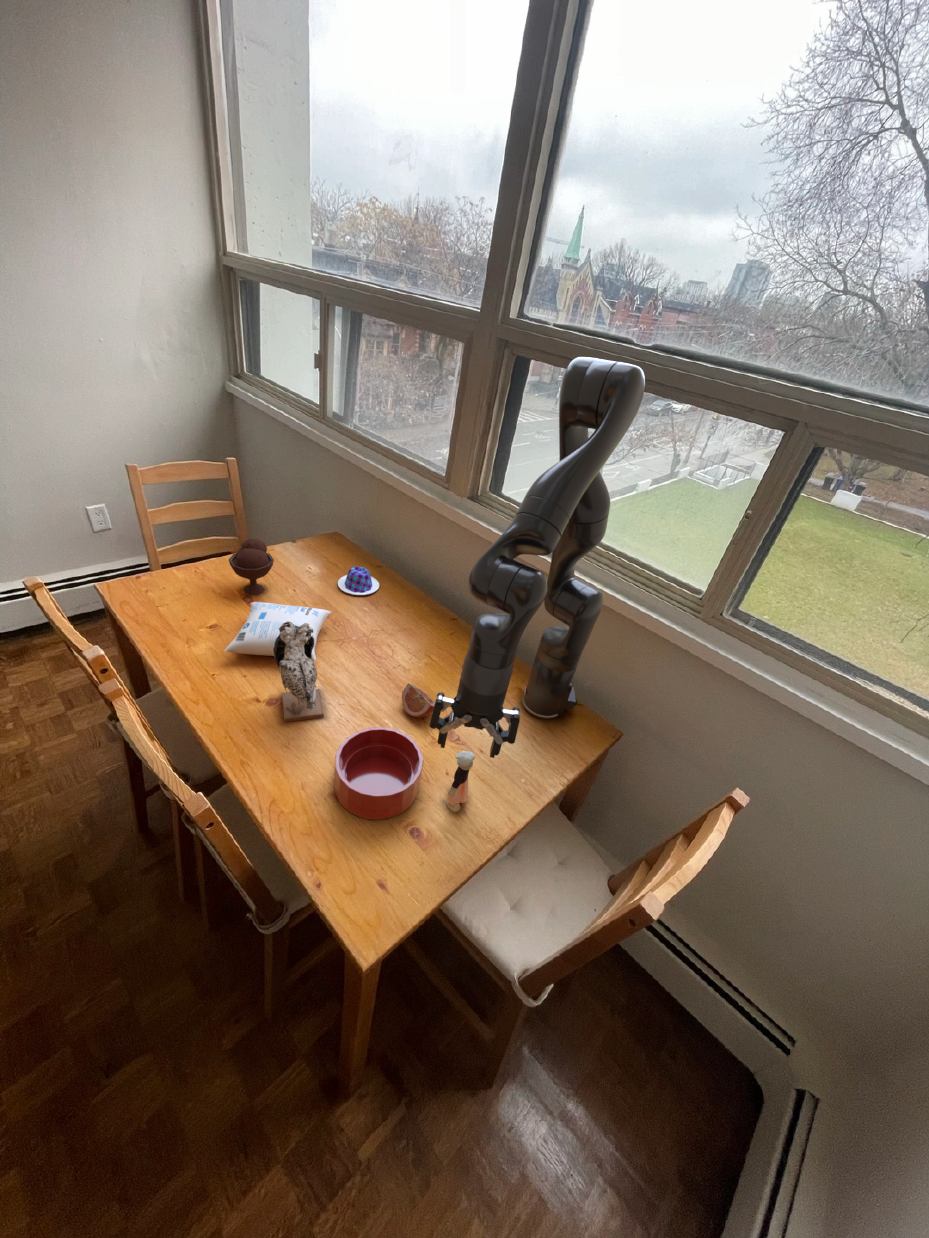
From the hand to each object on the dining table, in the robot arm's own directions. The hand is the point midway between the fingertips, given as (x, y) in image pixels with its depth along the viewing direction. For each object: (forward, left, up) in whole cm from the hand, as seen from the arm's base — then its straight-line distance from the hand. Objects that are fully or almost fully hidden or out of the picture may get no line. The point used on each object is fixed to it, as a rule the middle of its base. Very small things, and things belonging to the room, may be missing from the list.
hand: (467, 749), depth 87 cm
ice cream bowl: (+63, -55, -14) cm, 85 cm away
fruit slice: (+11, -21, -14) cm, 27 cm away
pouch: (+47, -35, -14) cm, 60 cm away
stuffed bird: (+35, -16, -14) cm, 41 cm away
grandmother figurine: (0, 0, -14) cm, 14 cm away
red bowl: (+15, 0, -14) cm, 20 cm away
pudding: (+37, -67, -14) cm, 78 cm away
